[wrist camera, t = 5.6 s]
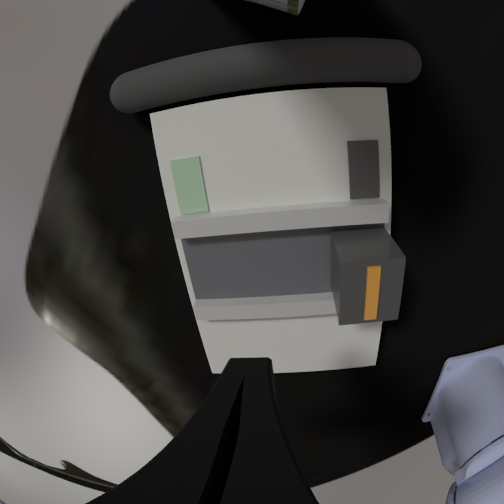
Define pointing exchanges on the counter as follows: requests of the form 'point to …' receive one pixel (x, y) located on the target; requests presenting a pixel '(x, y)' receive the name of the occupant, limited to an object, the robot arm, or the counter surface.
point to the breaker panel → (275, 217)
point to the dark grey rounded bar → (266, 69)
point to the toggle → (366, 275)
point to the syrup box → (282, 5)
